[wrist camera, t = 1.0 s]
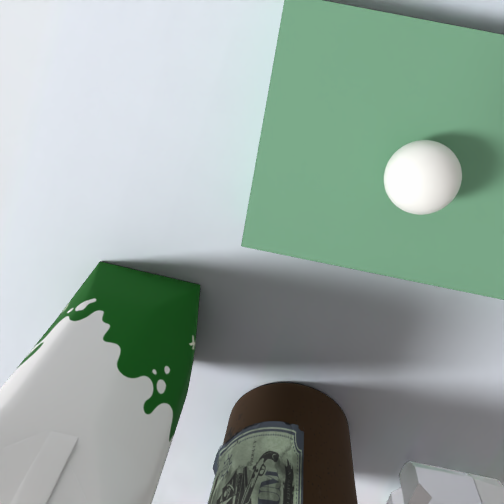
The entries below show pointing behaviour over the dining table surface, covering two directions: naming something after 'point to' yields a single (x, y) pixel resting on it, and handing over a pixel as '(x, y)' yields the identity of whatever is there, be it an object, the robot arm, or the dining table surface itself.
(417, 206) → the golf ball
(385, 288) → the dining table surface
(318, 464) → the brown cylinder
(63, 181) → the dining table surface
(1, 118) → the dining table surface
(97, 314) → the milk carton
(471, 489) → the robot arm
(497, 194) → the putting mat
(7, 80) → the dining table surface
